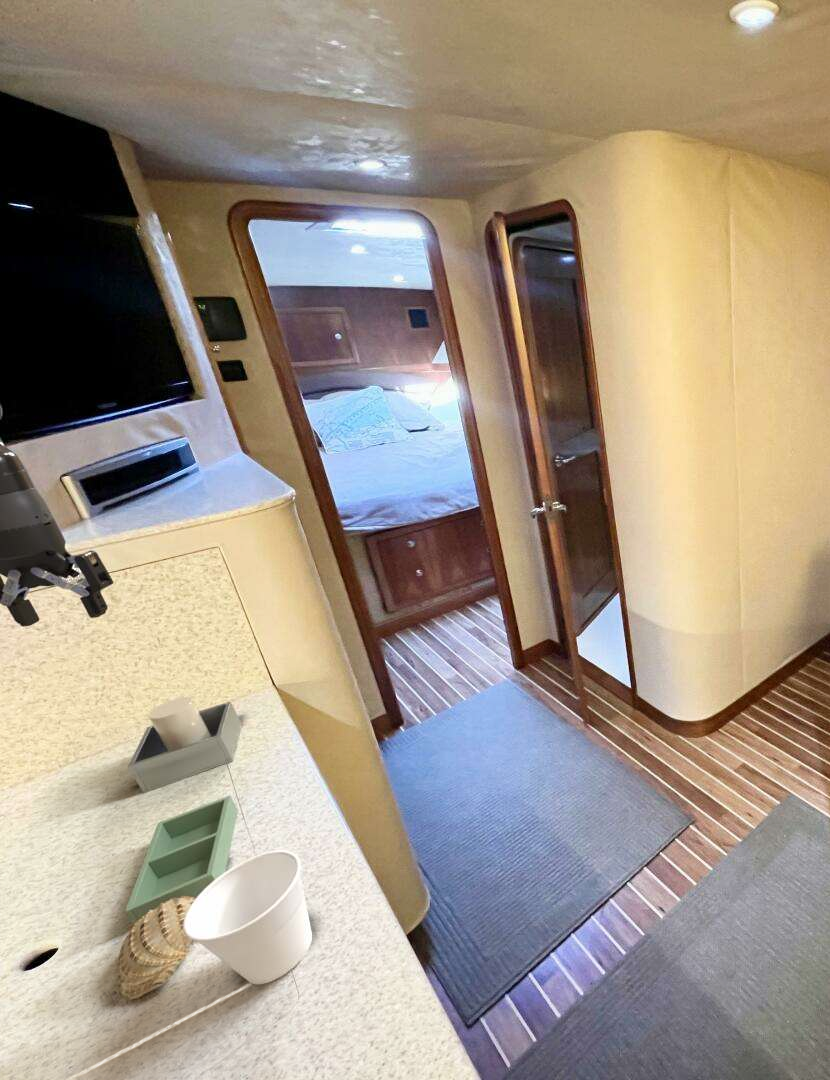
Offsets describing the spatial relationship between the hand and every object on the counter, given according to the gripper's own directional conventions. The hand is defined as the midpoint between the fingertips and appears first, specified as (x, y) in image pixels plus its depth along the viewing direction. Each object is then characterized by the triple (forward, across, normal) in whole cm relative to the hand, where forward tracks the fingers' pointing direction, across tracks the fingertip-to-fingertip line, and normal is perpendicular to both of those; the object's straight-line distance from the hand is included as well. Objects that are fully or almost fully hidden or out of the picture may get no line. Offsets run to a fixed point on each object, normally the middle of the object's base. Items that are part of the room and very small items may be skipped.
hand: (65, 619), depth 83 cm
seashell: (+28, +28, -41) cm, 57 cm away
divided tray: (+28, +23, -28) cm, 45 cm away
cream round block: (+27, +10, -3) cm, 29 cm away
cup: (+28, +41, -45) cm, 67 cm away
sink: (+27, +10, -3) cm, 29 cm away
